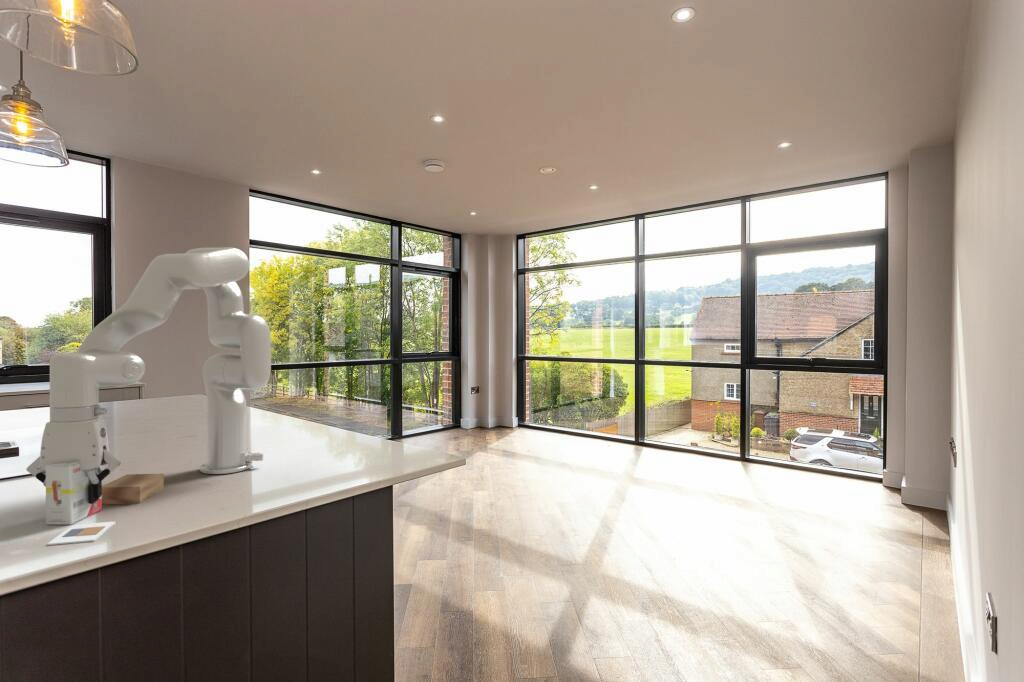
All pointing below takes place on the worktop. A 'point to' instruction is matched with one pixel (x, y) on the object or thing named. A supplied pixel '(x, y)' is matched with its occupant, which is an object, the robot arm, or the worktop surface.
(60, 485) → the ink box
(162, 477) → the base block
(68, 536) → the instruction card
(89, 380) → the robot arm
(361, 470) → the worktop surface
